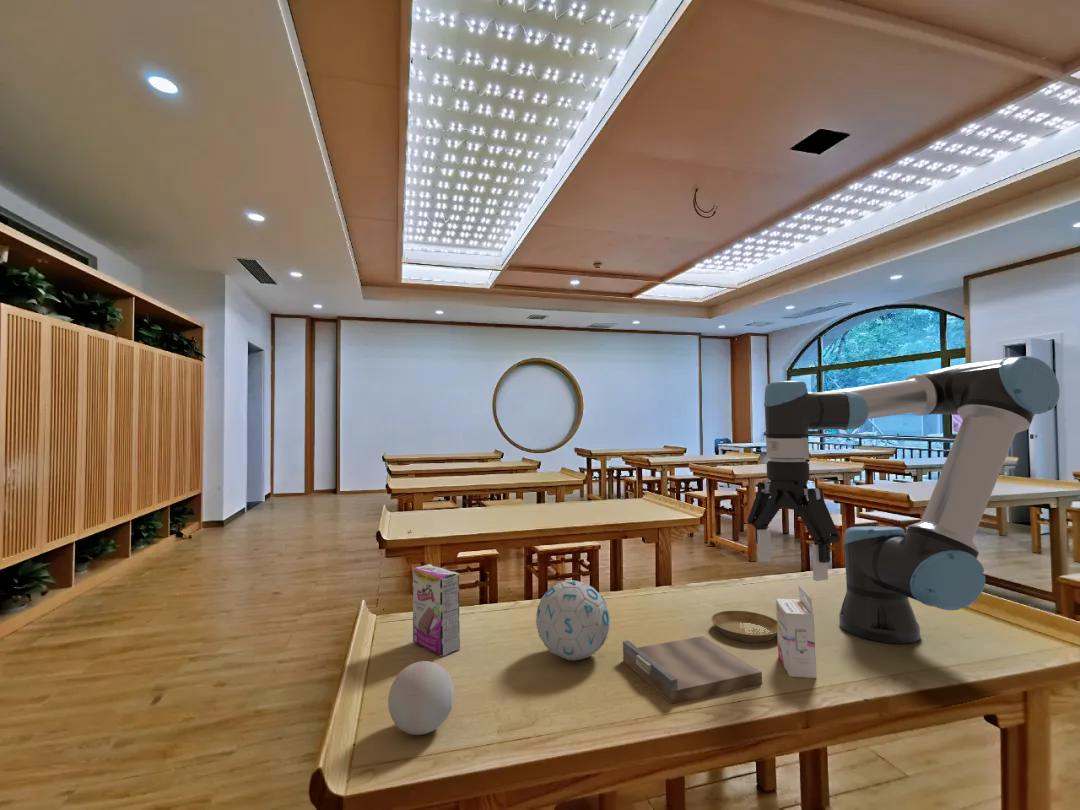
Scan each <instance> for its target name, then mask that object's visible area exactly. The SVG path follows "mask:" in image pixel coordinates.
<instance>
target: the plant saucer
mask: <svg viewBox="0 0 1080 810" xmlns="http://www.w3.org/2000/svg"><path fill="white" fill-rule="evenodd" d="M710 619H711V622H712V623H713V625H714V626H715V627H716V628H717V629H718V631H719V632H721V634H722V635H724V636H726V637H727V636H728V637H727V638H730V639H732V640H735V639H736V640H735V641H740V642H744V641H745V642H744V643H766V642H768V641H771V640H772V639H774V638H775V637H776V636H778V635H777V619H775V618H773V617H771V616H768V615H765V614H761V613H757V612H752V611H746V610H723V611H718V612H716V613H714V614H712V616H711V618H710ZM740 623H742V625H743V623H751V624H755V625H760V626H762V627H764V628H766V629H767V630H769V631H770V632H768V631H767V632H768V633H766V631H765V630H766V629H765V630H763V631H764V632H761V633H763V634H761V633H760V632H759V631H760V629H759V631H758V630H757V629H754V628H752V629H753V630H751V631H752V632H753V633H747V632H746V631H745V628H742V627H741V628H742V629H741V628H740ZM743 627H744V625H743ZM755 630H756V631H757V632H756V631H755ZM748 631H749V632H750V630H748ZM755 632H756V633H755ZM758 632H759V633H758ZM746 633H747V634H746ZM771 633H772V634H771ZM751 634H752V635H751ZM760 634H761V635H760Z"/></svg>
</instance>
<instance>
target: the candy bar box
mask: <svg viewBox="0 0 1080 810" xmlns="http://www.w3.org/2000/svg"><path fill="white" fill-rule="evenodd" d="M411 571H412V574H411V576H412V578H411V579H412V641H413V643H414V642H415V643H414V644H416V645H418V646H420V647H422V648H424V649H426V650H428V651H430V652H432V653H434V654H436V655H438V656H440V657H446V656H449V655H450V653H451V654H453V653H454V652H455V653H456V652H458V651H459V650H460V649H461V645H460V644H461V642H460V641H461V640H460V638H461V637H460V635H461V634H460V633H461V632H460V573H459V572H456V571H452V570H449V569H446V568H444V567H440V566H437V565H434V564H430V563H429V564H425V565H421V566H415V567H413V568H412V569H411Z"/></svg>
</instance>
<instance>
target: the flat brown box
mask: <svg viewBox="0 0 1080 810" xmlns="http://www.w3.org/2000/svg"><path fill="white" fill-rule="evenodd" d="M622 655H623V656H622V657H623V658H622V659H623V660H622V661H623V662H624V663H625V664H627V665H628V666H629V667H630V668H631V669H632V670H634V672H636V673H637V674H638V675H639V676H640V677H641V678H642V679H643V680H644V681H646V683H648V684H649V685H650V686H652V688H654V689H655V691H657V692H658V693H659V694H661V695H662V696H663V697H664V698H665V700H667V701H668V702H669V703H671V704H676V703H681V702H686V701H689V700H694V699H699V698H703V697H707V696H712V695H716V694H721V693H724V692H729V691H734V690H738V689H739V690H740V689H742V688H746V687H751V686H756V685H761V684H763V672H762V670H759V669H758V668H756V667H755V666H753V665H751V664H749V663H748V662H746V661H744V660H743V659H741V658H739V657H738V656H736V655H734V654H733V653H732V652H730V651H728V650H726V649H724V648H723V647H721V646H720V645H718V644H717V643H715V642H713V641H711V640H710V639H708V638H706V637H705V636H703V635H702V636H696V637H695V636H694V637H690V638H686V639H685V638H684V639H679V640H673V641H668V642H662V643H656V644H651V645H647V646H640V647H637V646H636V645H634V644H633V642H631V641H629V640H623V641H622Z"/></svg>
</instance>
